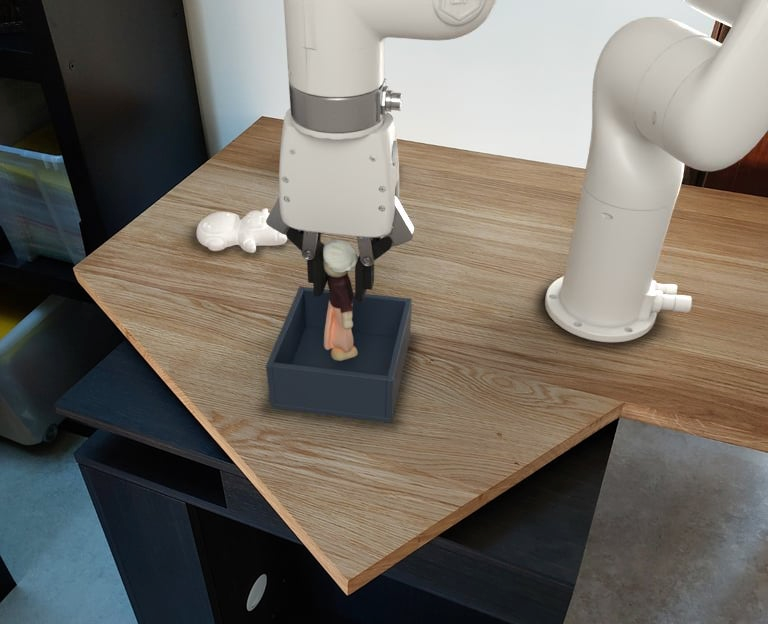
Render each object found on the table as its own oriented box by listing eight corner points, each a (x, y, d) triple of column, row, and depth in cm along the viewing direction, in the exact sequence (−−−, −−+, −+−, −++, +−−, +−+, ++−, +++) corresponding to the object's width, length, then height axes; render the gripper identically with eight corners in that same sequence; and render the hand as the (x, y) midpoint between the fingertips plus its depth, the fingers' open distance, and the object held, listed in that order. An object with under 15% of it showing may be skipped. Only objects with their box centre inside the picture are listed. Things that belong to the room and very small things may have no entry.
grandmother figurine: (313, 332, 82) (304, 226, 73) (348, 324, 83) (342, 218, 74) (336, 377, 77) (329, 269, 68) (373, 368, 78) (370, 260, 69)
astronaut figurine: (282, 256, 98) (280, 235, 96) (189, 250, 99) (185, 229, 97) (295, 220, 104) (294, 200, 102) (208, 215, 105) (204, 194, 103)
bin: (410, 339, 86) (412, 298, 82) (391, 423, 76) (392, 380, 72) (302, 327, 87) (299, 286, 83) (270, 407, 78) (265, 365, 74)
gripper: (444, 93, 64) (431, 278, 77) (251, 77, 66) (268, 260, 78) (433, 131, 59) (421, 324, 71) (223, 113, 61) (247, 304, 73)
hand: (341, 289), depth 75 cm, fingers closed on grandmother figurine, 3 cm apart
